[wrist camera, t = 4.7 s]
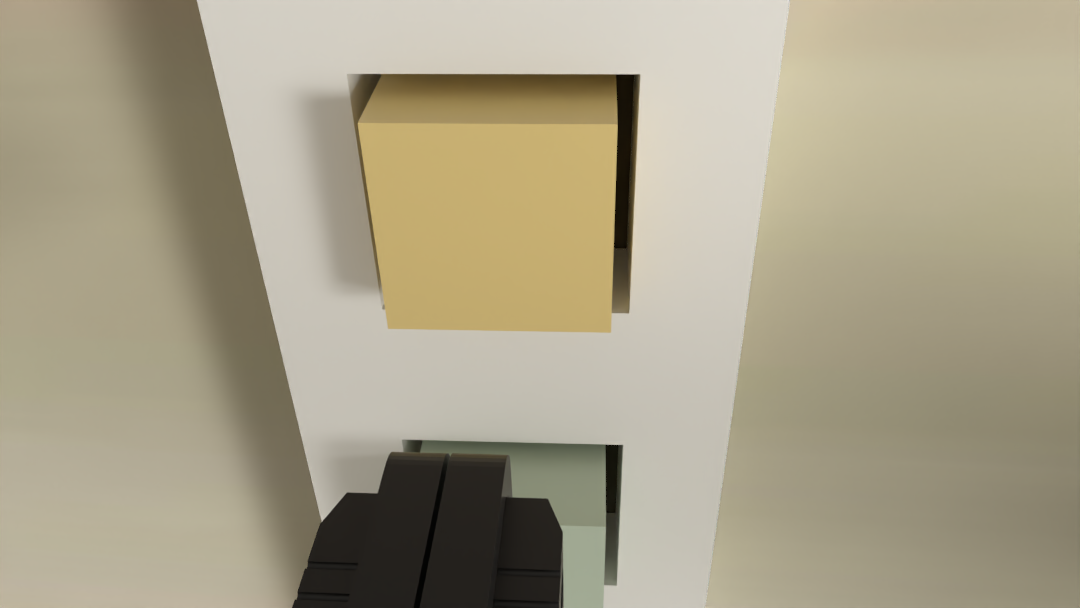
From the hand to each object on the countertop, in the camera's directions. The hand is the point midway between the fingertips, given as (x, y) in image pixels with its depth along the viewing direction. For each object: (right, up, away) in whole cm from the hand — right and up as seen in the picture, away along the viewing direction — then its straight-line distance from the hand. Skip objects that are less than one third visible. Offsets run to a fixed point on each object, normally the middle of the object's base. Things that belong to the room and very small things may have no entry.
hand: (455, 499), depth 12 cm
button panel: (+1, -3, +14) cm, 15 cm away
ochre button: (0, +6, +7) cm, 9 cm away
